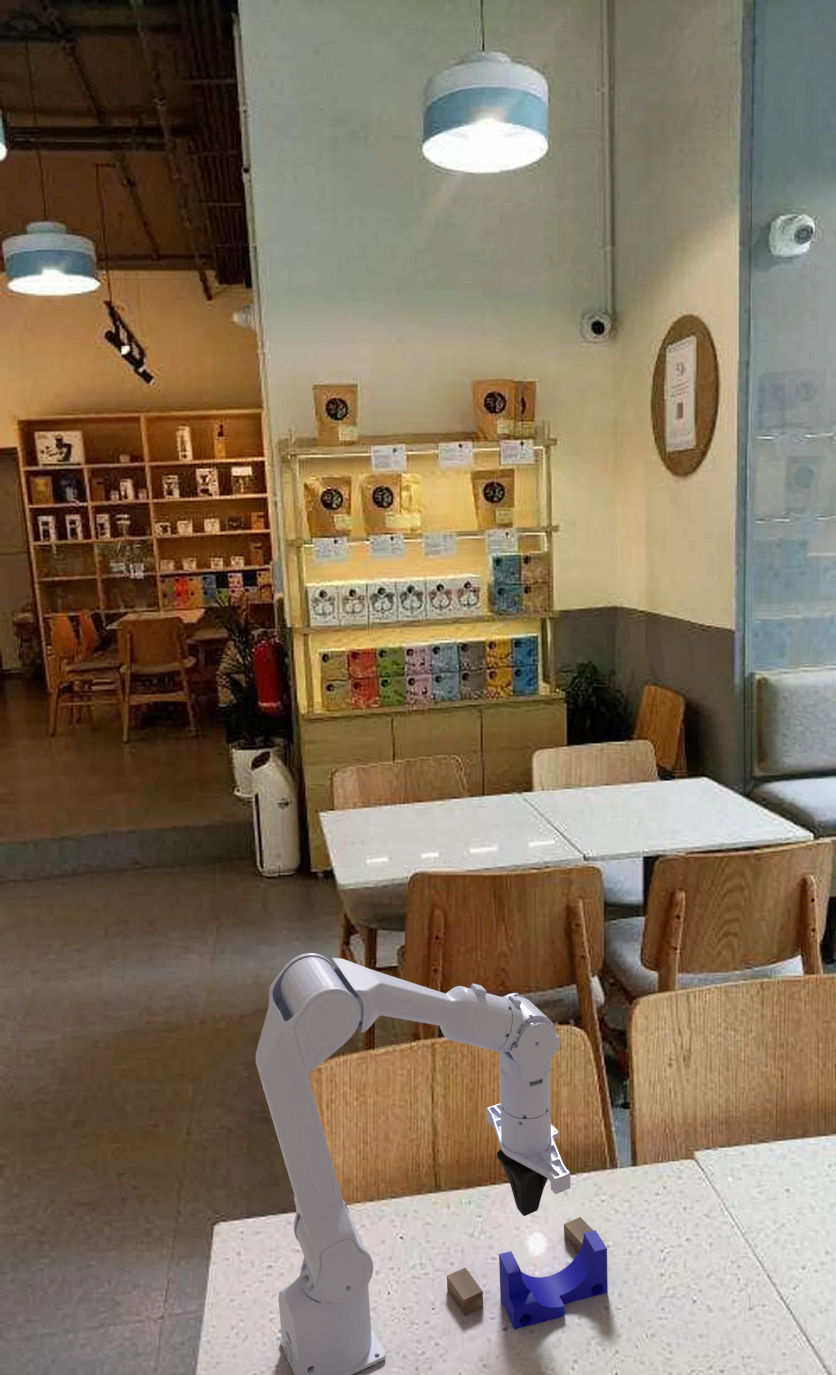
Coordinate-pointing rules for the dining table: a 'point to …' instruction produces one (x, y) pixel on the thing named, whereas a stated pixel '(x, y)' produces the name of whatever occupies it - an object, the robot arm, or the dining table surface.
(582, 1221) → the end blocks
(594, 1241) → the blue block with holes
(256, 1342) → the dining table surface
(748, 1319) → the dining table surface
